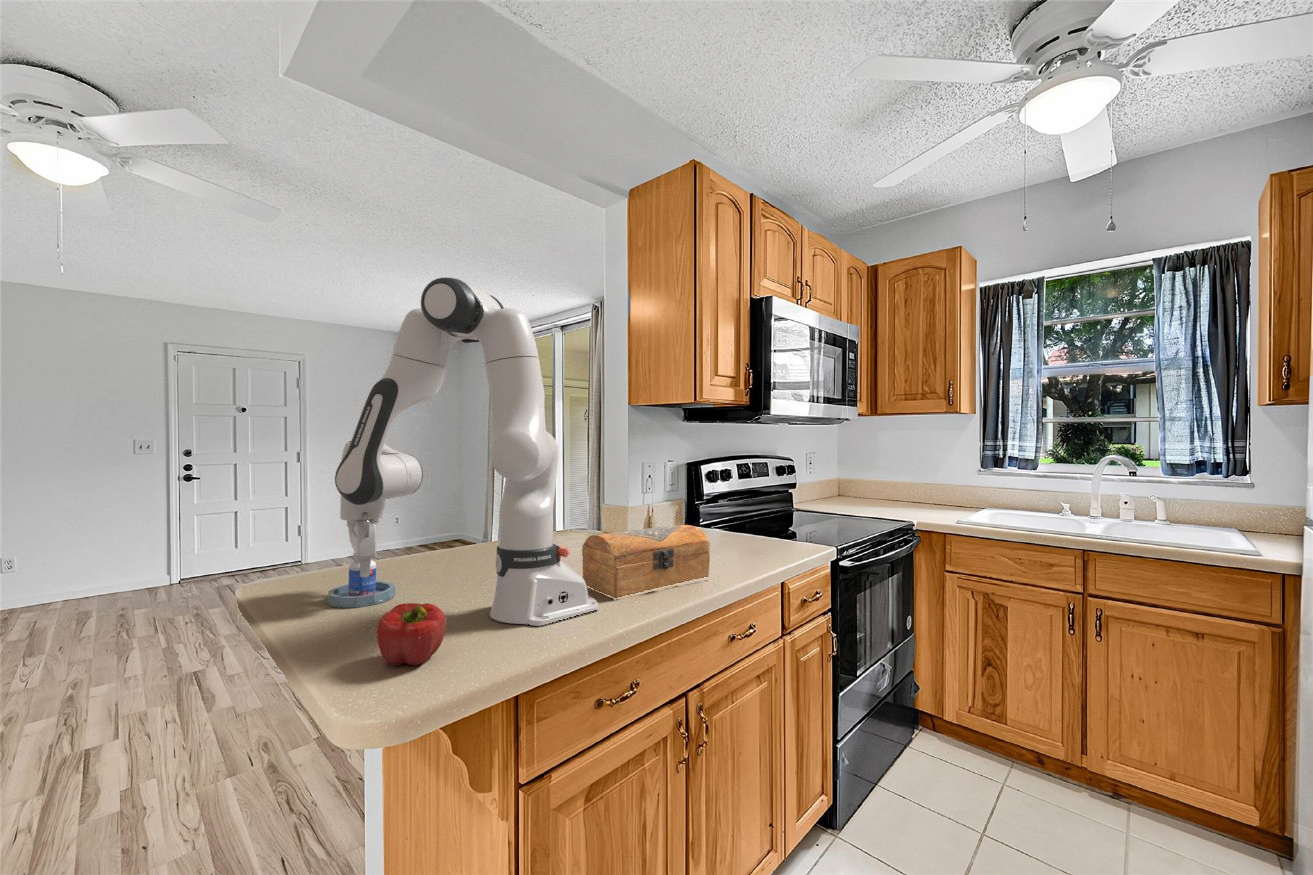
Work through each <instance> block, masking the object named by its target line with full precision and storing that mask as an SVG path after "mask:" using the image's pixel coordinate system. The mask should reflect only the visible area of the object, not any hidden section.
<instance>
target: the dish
mask: <svg viewBox="0 0 1313 875" xmlns="http://www.w3.org/2000/svg"><path fill="white" fill-rule="evenodd" d="M348 590H349V583H346V584H343V585H338V586H336V587H334V588H332V589H330V590H328V591H327V594H328V595H327V601H328V602H327V603H328V606H331V607H333V608H339V609H355V608H364V607H371V606H375V605H379V604H382V603H386V602H388V601H391V600H392V599H393V598H394V597H395V594H396V585H395V584H394V583H393V582H389V581H384V580H379V581H378V580H376V592H375V594H370V595H362V596H348Z"/></svg>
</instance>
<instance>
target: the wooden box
mask: <svg viewBox="0 0 1313 875" xmlns="http://www.w3.org/2000/svg"><path fill="white" fill-rule="evenodd" d="M708 538H709V537H707V535H706V533H705V532H704V531H703V530H702V529H701V528H700V527H697V526H694V525H689V524H680V525H673V526H669V525H668V526H659V527H657V526H656V527H650V528H641V529H639V528H638V529H631V530H630V529H629V530H623V531H621V530H620V531H615V532H609V533H603V534H595V535H590V536H588V537H587V538H586V539H585V541H584V543H583V544H582V546H581V547H582V548H581V555H582V577H583V579H584V580H585V583H586V586H589V587H590V588H593V589H594V590H597V591H599V592H602V593H604V594H607V595H610V596H612V597H614V598H618V597H622V596H625V595H630V594H635V593H638V592H643V591H645V590H651V589H654V588H659V587H663V586H668V585H673V584H676V583H682V582H685V581H690V580H693V579H699V578H704V577H708V578H709V574H710V573H709V572H710V540H709V539H708Z"/></svg>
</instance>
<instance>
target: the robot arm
mask: <svg viewBox="0 0 1313 875" xmlns="http://www.w3.org/2000/svg"><path fill="white" fill-rule="evenodd" d="M459 341H461V342H462V343H464V344H468V343H480V345H481V349H482V352H483V360H484V365H485V371H486V379H487V384H488V390H489V391H488V392H489V398H490V408H491V409H490V410H491V413H490V415H491V416H490V418H491V419H490V420H491V423H490V424H491V425H490V427H491V428H490V430H491V433H490V434H491V435H490V436H491V447H490V450H489V451H490V454H489V458H490V462H491V466H492V467H493V469H494V470H495V471H496V473H498V474H499V475H501V477H503V478H505V481H504V487H503V492H502V498H501V502H500V506H499V510H498V512H499V514H498V517H499V518H498V545H497V546H496V554H495V572H496V574H497V576H496V583H495V584H496V585H495V592H494V596H493V597H494V598H493V601H492V606H491V609H490V612H489V616H490V618H491V619H492V620H495V621H496V622H501V623H505V624H515V625H516V624H519V625H520V624H521V625H528V624H529V625H530V626H533V627H534V626H535V627H543V626H545V624H546V625H549V623H550V624H552V622H554V623H556V621H557V622H559V621H558V620H561V621H564V620H563V619H565V620H568V619H570V618H569V617H572V618H575V617H574V616H576V615H579V614H582V613H586V612H588V611H594V610H597V609H598V610H599V603H598V601H597V600H596V599H595V598H594V597H592V596H591V595H589V594H588V593H589V592H588V588H587V586H586V583H585V580H584V579H583V575H580V574H579V573H578V572H576V571H575V570H574V569H573V568H571V567H570V566H569V565H568V564H566V563H564V562H563V561H562V560H561V558H568V557H569V555H570V549H569V548H567V547H566V546H559V545H557V544H555V543H554V537H553V536H554V505H555V494H556V488H557V487H556V486H557V479H558V478H557V477H558V463H559V462H558V461H559V447H558V443H557V441H556V439H555V437H554V436H553V435H552V434H551V433H550V432H548V431H547V430H546V428H547V427H546V414H545V413H546V412H545V408H546V407H545V398H546V395H545V387H544V382H543V377H542V376H543V375H542V369H541V364H540V358H539V353H538V352H539V351H538V347H537V342H536V339H535V336H534V332H533V330H532V327H531V324H530V321H529V319H528V317H527V315H526V314H525V313H523V312H522V311H520V310H517V309H515V308H507V307H506V308H505V307H504V306H503V304H502V302H500V300H498V299H497V298H496V297H495V296H493V295H491V294H488V293H487V292H485V291H484V290H483V289H482V288H480V287H477V286H476V285H474V284H472V283H467V282H465V281H462V280H461V279H459V278H454V277H439V278H438V277H437V278H435V279H433V280H431V281H430V282H429V283H428V284H427V285H426V286H425V287H424V289H423V291H422V293H421V297H420V308H414V309H411V310H410V311H409V312H408V313H406V315H405V316H404V319H403V320H402V323H401V325H400V328H399V330H398V333H397V336H396V338H395V343H394V346H393V350H392V355H391V358H390V361H389V364H388V367H387V368H386V370H385V372H384V374H383V375H382V377H381V379H379V380H378V381H377V382H375V384H374V385H373V386H372V387H371V389H370V392H369V394H368V396H367V398H366V401H365V403H364V406H363V408H362V410H361V413H360V417H359V419H358V421H357V424H356V428H355V430H354V433H353V435H352V438H351V440H350V441H348V442H346V443H345V444H344V447H343V450H342V454H341V461H340V462H339V464H338V467H337V469H336V471H335V475H334V482H335V487H336V489H337V491H338V493H339V494H340V508H339V509H340V516H339V517H340V520H342V521H346V527H348V534H349V542H350V545H351V547H352V549H353V553H355V554H356V557H357V559H358V560H359V561H360V576H361V577H368V576H369V570H370V563H371V559H372V558H373V559H375V558H376V556H377V527H376V526H378V525H379V520H380V519H383V518H385V517H386V500H388V499H395V498H402V497H406V496H409V495H412V494H414V493H416V492H417V491H418V489H419V488H420V487H421V485H422V483H423V478H424V472H423V467H422V464H421V463H420V461H419V460H418V459H417V458H416V457H415V456H414V455H411V454H406V453H404V452H400V451H398V450H396V449H393V448H392V447H390V446H388V445H387V444H386V442H387V439H388V436H389V434H390V430H391V429H392V428H391V427H392V424H393V422H394V421H395V419H396V418H397V417H398V416H399V414H401V413H402V412H403V411H405V410H407V409H408V408H410V407H412V406H414V405H418V404H420V403H423V402H426V401H428V400H430V399H432V398H433V397H434V396H435V395H437V394H438V393H439V391H440V389H441V387H442V386H443V384H444V381H445V378H446V372H447V367H448V363H449V360H450V359H449V358H450V354H451V350H452V348H453V346H454V345H455V344H456V343H457V342H459ZM373 559H372V560H373ZM598 610H597V611H598ZM594 612H595V611H594ZM579 616H580V615H579ZM576 617H577V616H576ZM567 618H568V619H567ZM529 625H528V626H529ZM542 625H543V626H542Z"/></svg>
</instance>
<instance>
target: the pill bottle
mask: <svg viewBox="0 0 1313 875" xmlns="http://www.w3.org/2000/svg"><path fill="white" fill-rule="evenodd" d="M373 559H374V558H372V559H371V563H370V570H369V576H368V577H361V576H360V561H359V560H358V559H357V557H356V554H355V552H353V553H352V560H353V562H351V563H350V564H349V566H348V584H349V590H348V596H362V595H370V594H375V592H376V581H377V563H376V561H374V560H373Z"/></svg>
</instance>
